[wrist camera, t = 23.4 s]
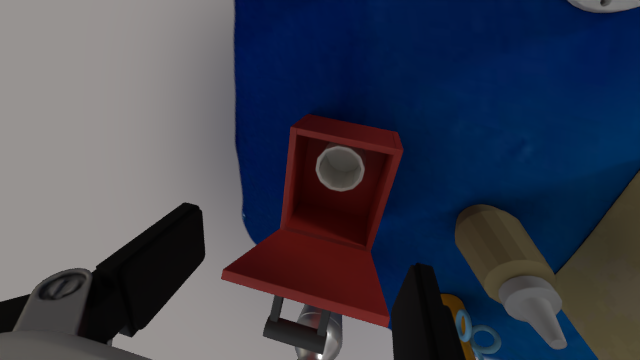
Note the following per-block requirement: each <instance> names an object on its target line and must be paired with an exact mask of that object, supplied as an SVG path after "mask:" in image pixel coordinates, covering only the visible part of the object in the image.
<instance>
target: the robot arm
mask: <svg viewBox="0 0 640 360" xmlns="http://www.w3.org/2000/svg"><path fill="white" fill-rule="evenodd" d="M567 1H568V2H570V3H571V4H572V5H573V6H575V7H578V8H580V9H582V10H584V11H589V12H594V13H612V12H617V11H623V10H628V9H631V8H635V7H639V6H640V0H567ZM600 2H601V4H600ZM204 257H205V244H204V230H203V216H202V211H201V210H200V209H199V206H197V205H194V204H190V203H183V204H181V205H180V206H179V207H177V208H176V209H174V210H173V211H172V212H170V213H169V214H167V215H166V216H165V217H163V218H162V219H161V220H159V221H158V222H156V223H155V224H154V225H152V226H151V227H149V228H148V229H147V230H145V231H144V232H143V233H141V234H140V235H138V236H137V237H136V238H134V239H133V240H132V241H130V242H129V243H128V244H126V245H125V246H123V247H122V248H121V249H119V250H118V251H116V252H115V253H114V254H112V255H111V256H110V257H108V258H107V259H105V260H104V261H103V262H101V263H100V264H99V265H97V266H96V270H95V271H93V272H92V273H91V272H90V271H89V270H87V269H82V268H75V269H68V270H65V271H61V272H58V273H56V274H54V275H52V276H50V277H48V278H46V279H45V280H43V281H42V282H41V283H40V284H38V285H37V286H36V287H35V289H34V290H33V291H32V293H31V294H28V295H25V296H21V297H17V298H13V299H9V300H6V301H2V302H0V360H151V359H148V358H145V357H142V356H139V355H136V354H134V353H131V352H128V351H125V350H122V349H118V348H115V347H112V340H113V338H114V337H115V335H116V334H117V333H118V332H119V333H120V334H123V335H126V336H129V337H133V336H134V335H135V333H136V332H137V331H138V330H141V329H143V328H144V327H146V326H147V324H148V323H149V322H150V321H151V320H152V319H153V317H154V316H155V315H156V314H157V313H158V312H159V311H160V310H161V308H162V307H163V306H164V305H165V304H166V303H167V302H168V300H169V299H170V298H171V297H172V296H173V295H174V293H175V292H176V291H177V290H178V289H179V288H180V287H181V286H182V284H183V283H184V282H185V281H186V280H187V279H188V278H189V276H190V275H191V274H192V273H193V272H194V271H195V270H196V268H197V267H198V266H199V265H200V264H201V262H202V261H203V260H204ZM391 321H392V337H393V353H394V360H466V358H465V354H464V351H463V348H462V345H461V341H460V338H459V335H458V331H457V328H456V325H455V322H454V318H453V315H452V312H451V310H450V308H449V307H448V306H447V305H443V301H442V298H441V294H440V291H439V287H438V284H437V280H436V276H435V273H434V269H433V267H432V266H429V265H425V264H421V263H416V265H415V266H414V265H411V266H410V268H409V271H408V273H407V275H406V277H405V280H404V282H403V284H402V287H401V289H400V291H399V293H398V296H397V298H396V300H395V303H394V305H393V307H392V312H391Z"/></svg>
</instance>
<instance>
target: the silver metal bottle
mask: <svg viewBox="0 0 640 360" xmlns="http://www.w3.org/2000/svg"><path fill="white" fill-rule="evenodd" d="M321 312H322V309H321V308H318V307H314V306H311V305H308V304H305V305H304V308H303V310H302V312H301V314H300V316H299V319H298V321H297V323H299V324H303V325H306V326H309V327H312V328H316V329H318V325H319V321H320V317H321ZM326 332H327V339H326V344H325V349H324V353H323V355H321V354H318V353H315V352H311V351H308V350H305V349H302V348H299V347H295V350H296V353H297V356H298V359H297V360H334V359H335V358H336V357H337V355H338V354H339V352H340V349H341V347H342V314H338V313H335V312H332V311H331V314H330V318H329V322H328V326H327V331H326Z"/></svg>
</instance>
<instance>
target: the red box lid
mask: <svg viewBox="0 0 640 360" xmlns="http://www.w3.org/2000/svg"><path fill="white" fill-rule="evenodd" d="M221 279H222V280H226V281H229V282H233V283H236V284H239V285H243V286H246V287H250V288H253V289H256V290H260V291H263V292H267V293H270V294H274V295H275V296H274V301H273V305H272V310H271V314H270V316H269V317H268V319H267V322H266V324H265V328H264V332H263V336H264V337H267V338H270V339H273V340H276V341H280V342H283V343H286V344H289V345H292V346H295V347H299V348H302V349H305V350H308V351H311V352H315V353H318V354H321V355H323V353H324V349H325V344H326V339H327V332H326V331H327V326H328V322H329V318H330V314H331V311H332V312H335V313H338V314H342V315H346V316H349V317H352V318H355V319H359V320H362V321H366V322H369V323H373V324H376V325H380V326H383V327H386V328H387V327H388V323H389V318H390V317H389V314H388V310H387V307H386V303H385V300H384V297H383V293H382V290H381V286H380V283H379V280H378V276H377V273H376V269H375V266H374V263H373V259H372V256H371V253H370V252H367V251H363V250H359V249H356V248H352V247H348V246H344V245H340V244H336V243H333V242H329V241H325V240H321V239H317V238H313V237H310V236H306V235H302V234H298V233H294V232H290V231H287V230H283V229H279V230H277V231H276V232H274V233H273V234H272V235H270V236H269V237H268V238H266V239H265V240H263V241H262V242H261V243H259V244H258V245H256V246H255V247H254V248H252V249H251V250H249V251H248V252H247V253H245V254H244V255H243V256H241V257H240V258H238V259H237V260H236V261H234V262H233V263H231V264H230V265H229V266H227V267H226V268H225V269H223V273H222V277H221ZM284 298H287V299H291V300H294V301H297V302H301V303H304V304H308V305H311V306H314V307H318V308H321V309H322V312H321V317H320V321H319V325H318V329H316V328H312V327H309V326H306V325H303V324H299V323H296V322H293V321H289V320H286V319H283V318H279V317H280V313H281V308H282V304H283V299H284Z"/></svg>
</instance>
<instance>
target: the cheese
mask: <svg viewBox="0 0 640 360" xmlns="http://www.w3.org/2000/svg"><path fill="white" fill-rule="evenodd" d="M555 276H556V286H555V288H554V290H555V291H556V292H557V293H558V295H559V296H560V298H561V300H562V308H561V309H562V310H563V311H564V313H565V314H566V316H567V317H568V318H569V320H570V321H571V323H572V324H573V325H574V327H575V328H576V330H577V331H578V332H579V334H580V335H581V336H582V338H583V339H584V340H585V342H586V343H587V344H588V346H589V347H590V348H591V350H592V351H593V352H594V353H595V355H596V356H597V357H598V359H599V360H640V170H639V172H638V173H637V174H636V175H635V177H634V178H633V179H632V181H631V182H630V183H629V185H628V186H627V187H626V188H625V190H624V191H623V192H622V194H621V195H620V196H619V198H618V199H617V200H616V201H615V203H614V204H613V205H612V207H611V208H610V209H609V211H608V212H607V213H606V215H605V216H604V217H603V219H602V220H601V221H600V223H599V224H598V225H597V226H596V228H595V229H594V230H593V232H592V233H591V234H590V235H589V237H588V238H587V239H586V240H585V242H584V243H583V244H582V245H581V246H580V248H579V249H578V250H577V251H576V252H575V253H574V255H573V256H572V257H571V258H570V259H569V260H568V261H567V263H566V264H565V265H564V266H563V267H562V268H561V269H560V270H559V271H558V273H557V274H556V275H555Z"/></svg>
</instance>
